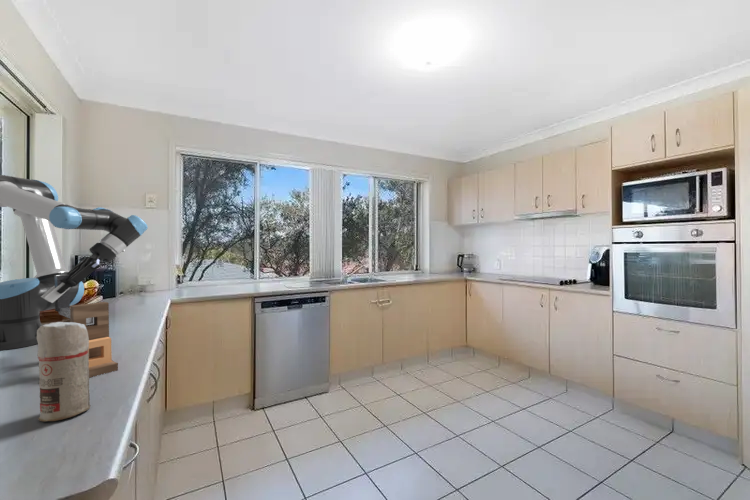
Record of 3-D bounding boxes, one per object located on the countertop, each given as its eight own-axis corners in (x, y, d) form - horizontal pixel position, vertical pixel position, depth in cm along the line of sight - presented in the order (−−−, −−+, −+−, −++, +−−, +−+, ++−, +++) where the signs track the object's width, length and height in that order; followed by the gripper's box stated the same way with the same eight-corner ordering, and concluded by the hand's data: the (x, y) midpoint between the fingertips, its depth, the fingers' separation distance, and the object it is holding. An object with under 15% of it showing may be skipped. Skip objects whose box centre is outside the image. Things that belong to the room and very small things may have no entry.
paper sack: (31, 417, 70) (29, 323, 70) (79, 401, 78) (78, 316, 77) (48, 428, 66) (46, 328, 66) (97, 409, 74) (96, 320, 73)
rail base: (51, 357, 107) (50, 298, 106) (83, 351, 113) (82, 295, 113) (82, 379, 90) (81, 309, 90) (117, 370, 97) (116, 305, 96)
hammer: (55, 313, 112) (54, 275, 112) (67, 312, 115) (66, 274, 115) (82, 325, 97) (81, 280, 97) (95, 322, 99) (94, 279, 99)
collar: (77, 367, 93) (77, 342, 93) (108, 360, 99) (108, 336, 99) (80, 369, 92) (80, 344, 92) (111, 361, 98) (111, 338, 98)
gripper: (125, 256, 121) (64, 309, 107) (108, 255, 130) (51, 304, 116) (106, 241, 116) (41, 295, 103) (91, 241, 125) (29, 290, 112)
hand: (46, 299), depth 110 cm, fingers closed on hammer, 3 cm apart
